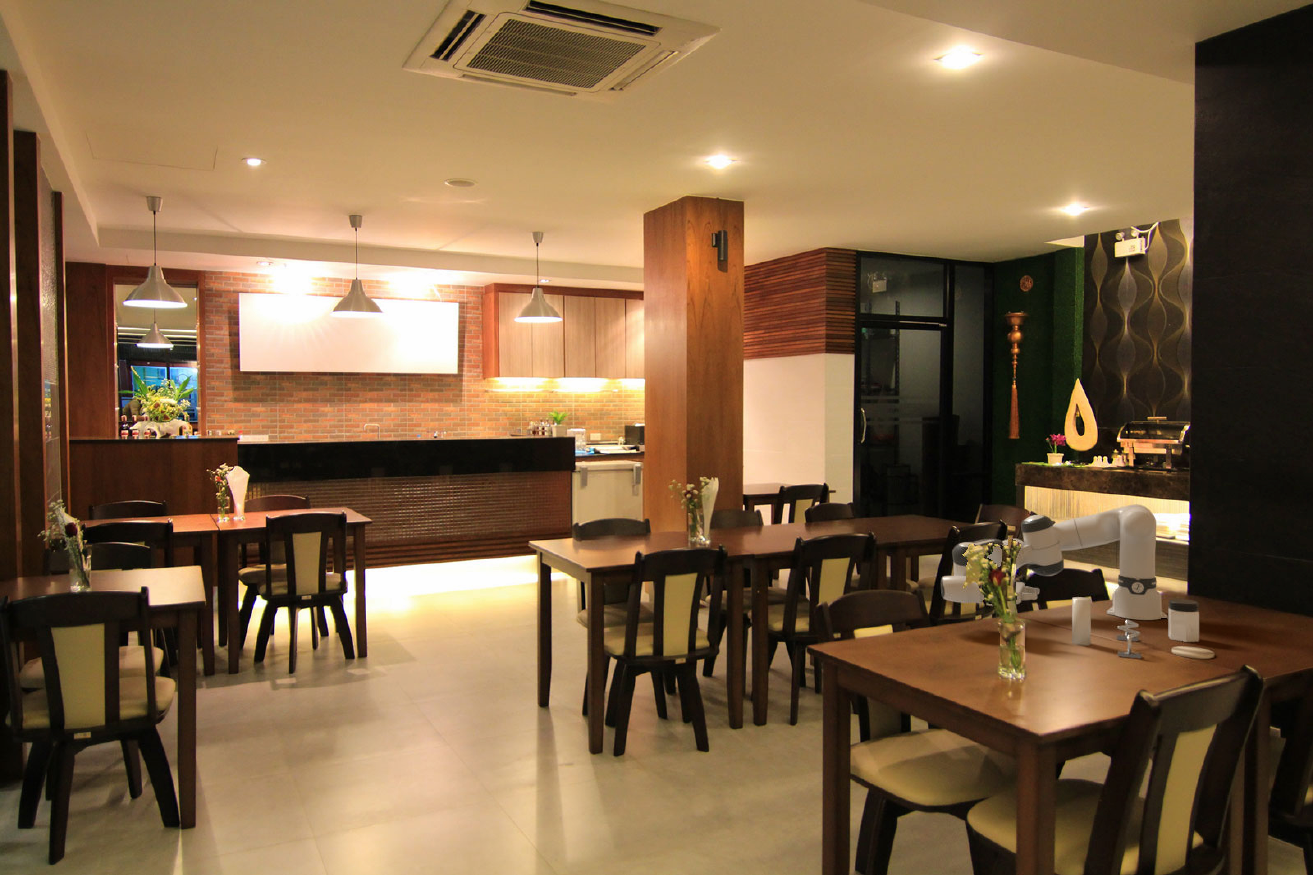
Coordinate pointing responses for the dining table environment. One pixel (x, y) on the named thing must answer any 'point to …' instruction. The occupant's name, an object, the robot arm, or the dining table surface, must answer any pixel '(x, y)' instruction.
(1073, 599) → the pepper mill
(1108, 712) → the dining table surface
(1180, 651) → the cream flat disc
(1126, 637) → the coil spring stand
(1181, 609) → the jar
